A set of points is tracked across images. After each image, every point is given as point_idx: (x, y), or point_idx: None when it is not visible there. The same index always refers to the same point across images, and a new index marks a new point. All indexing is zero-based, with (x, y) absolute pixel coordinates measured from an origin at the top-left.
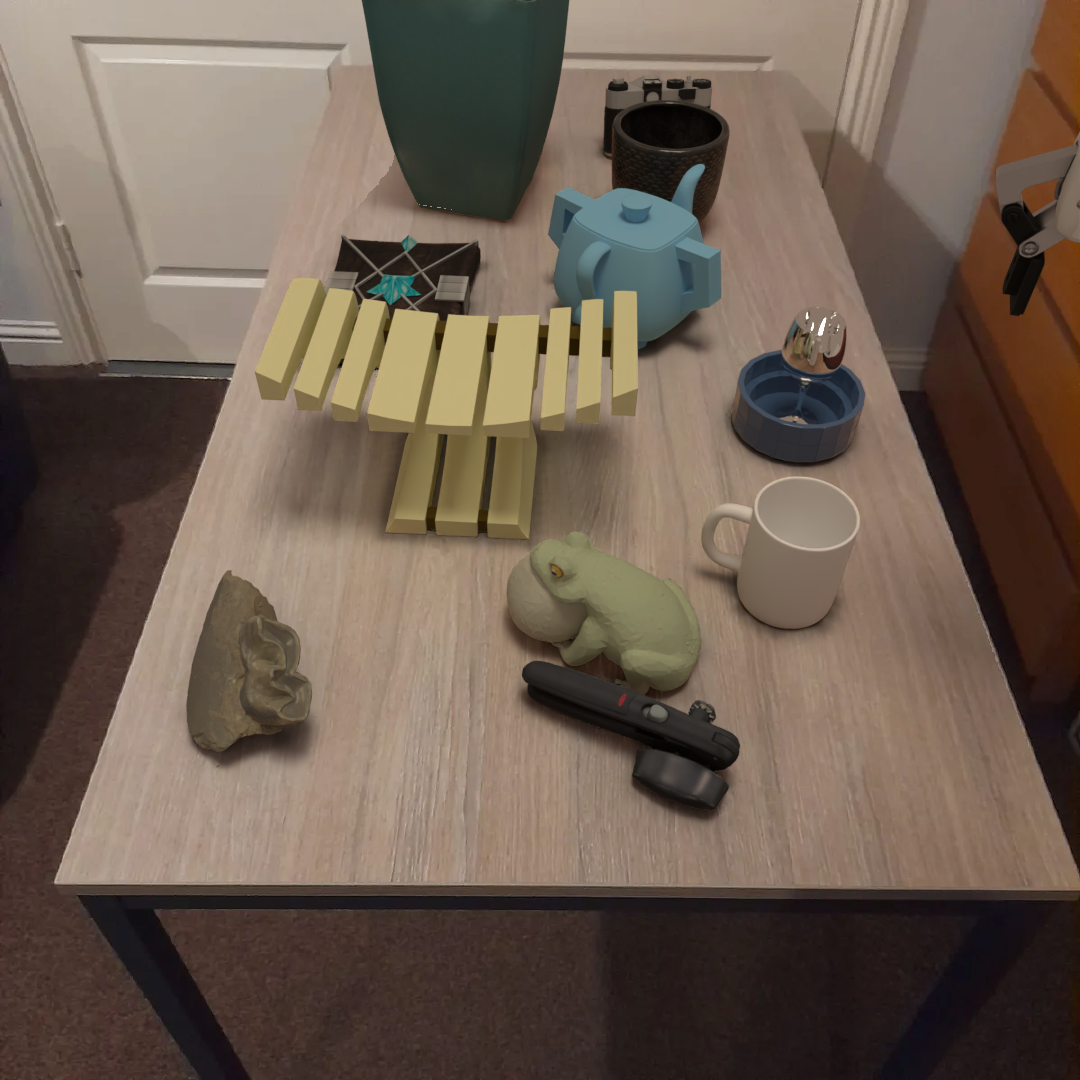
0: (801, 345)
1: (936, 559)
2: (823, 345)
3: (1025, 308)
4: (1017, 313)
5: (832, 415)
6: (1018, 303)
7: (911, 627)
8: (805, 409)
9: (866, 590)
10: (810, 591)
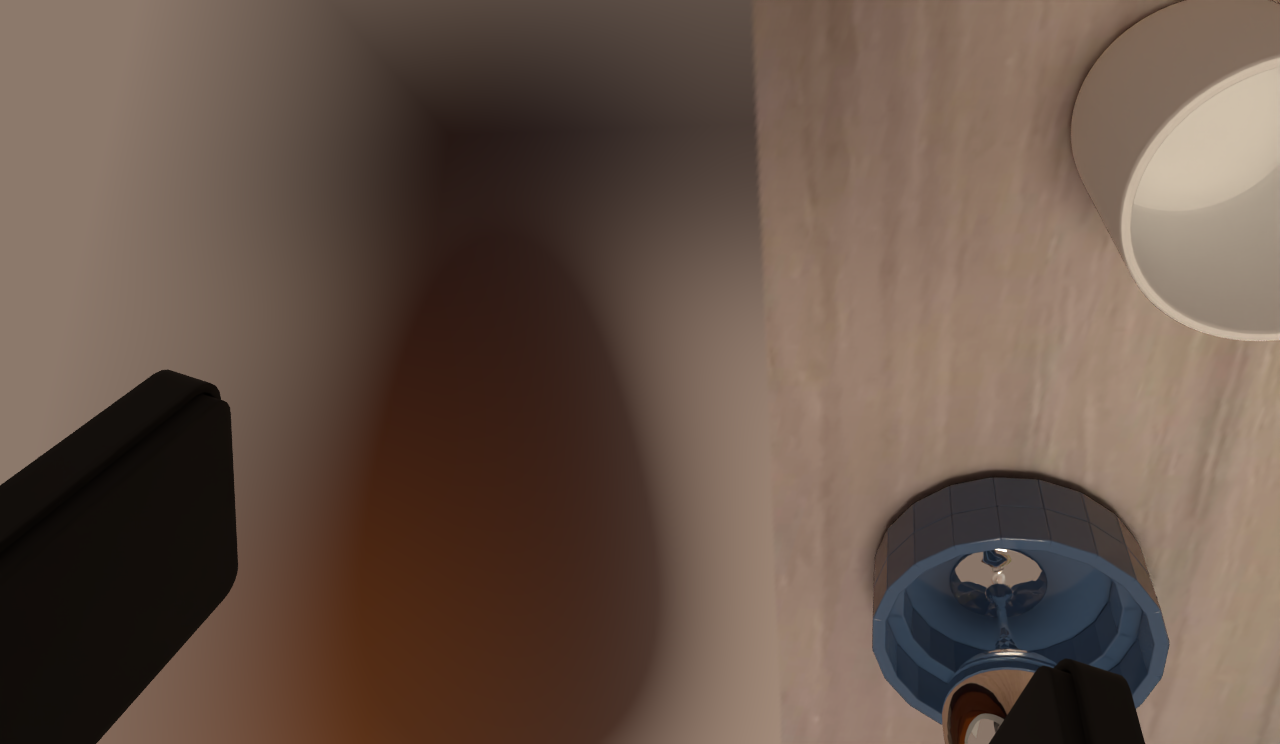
0: None
1: (792, 224)
2: None
3: (1060, 700)
4: (1094, 674)
5: (912, 588)
6: (1130, 740)
7: (901, 27)
8: (968, 606)
9: (975, 132)
10: (1243, 18)
